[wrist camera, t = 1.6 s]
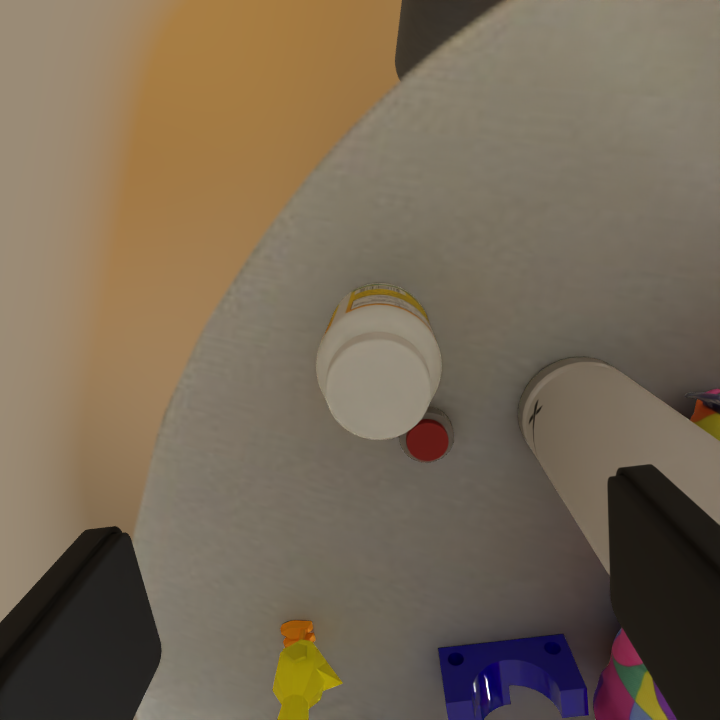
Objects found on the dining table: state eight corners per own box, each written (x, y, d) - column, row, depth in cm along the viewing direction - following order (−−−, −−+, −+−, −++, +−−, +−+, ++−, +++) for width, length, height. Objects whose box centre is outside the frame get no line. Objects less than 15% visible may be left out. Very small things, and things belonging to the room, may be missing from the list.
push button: (428, 396, 30) (430, 405, 29) (462, 432, 31) (466, 444, 29) (388, 429, 31) (388, 440, 29) (422, 464, 31) (424, 477, 30)
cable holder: (444, 690, 36) (453, 748, 32) (438, 648, 35) (445, 703, 31) (567, 677, 35) (590, 735, 32) (563, 633, 34) (586, 688, 31)
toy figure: (252, 660, 36) (192, 877, 24) (238, 616, 35) (170, 820, 23) (352, 647, 35) (340, 863, 24) (341, 602, 34) (324, 804, 23)
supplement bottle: (385, 260, 28) (389, 289, 19) (449, 337, 29) (481, 399, 20) (308, 325, 29) (277, 382, 20) (372, 397, 30) (370, 482, 21)
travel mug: (489, 407, 30) (681, 763, 11) (588, 332, 29) (1002, 590, 10) (555, 483, 31) (832, 924, 12) (653, 414, 30) (1136, 790, 11)
